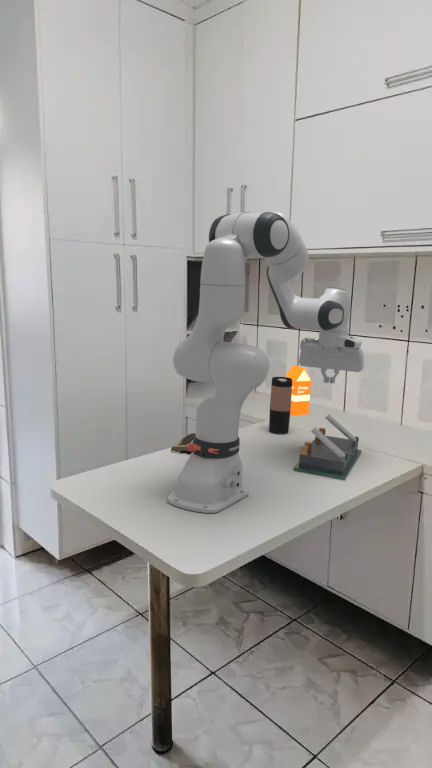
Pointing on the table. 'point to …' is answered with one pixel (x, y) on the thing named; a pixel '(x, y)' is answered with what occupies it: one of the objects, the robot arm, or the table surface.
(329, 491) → the table surface
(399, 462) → the table surface
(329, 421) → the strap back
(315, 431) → the strap front
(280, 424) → the travel mug
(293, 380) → the orange juice
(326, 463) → the dark piece
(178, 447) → the computer
